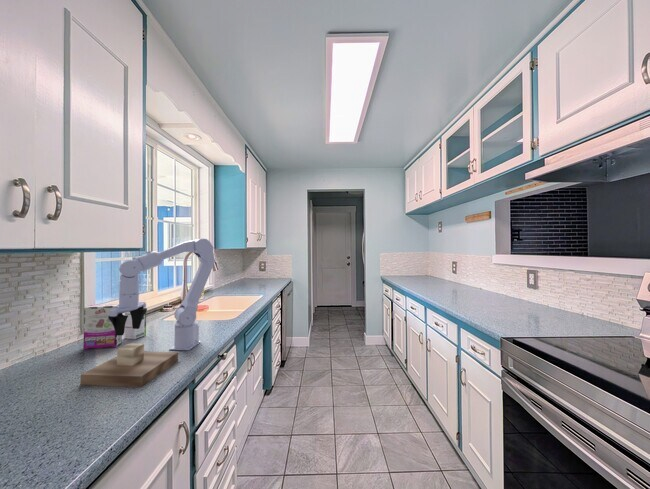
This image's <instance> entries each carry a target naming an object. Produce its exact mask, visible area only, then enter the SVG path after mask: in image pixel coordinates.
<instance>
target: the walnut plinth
mask: <svg viewBox="0 0 650 489" xmlns="http://www.w3.org/2000/svg"><path fill="white" fill-rule="evenodd" d="M178 361H179V352H178V351H177V352H176V351H151V350H150V351H148V350H147V351H145V350H144V359H143V360H141V361H140V362H138V363H136V364H134V365H133V366H126V365H117V356H115V357H113V358H111V359H109V360H107V361H106V362H103V363H100V364H99V365H97V366H95V367H93V368H91V369H89V370H87V371H85V372H83V373H81V374H80V386H102V387H106V386H107V387H129V388H130V387H132V388H133V387H134V388H141V387H143V386H145V385H146V384H148V383H149V382H150V381H152V380H153V379H155V378H156V377H157V376H159V375H160V374H161V373H163V372H164V371H166V370H167V369H168V368H170V367H171V366H172V365H174V364H175V363H177V362H178Z"/></svg>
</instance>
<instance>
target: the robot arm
mask: <svg viewBox="0 0 650 489" xmlns="http://www.w3.org/2000/svg"><path fill="white" fill-rule="evenodd" d="M183 253H193V254H194V255H195V256H196V257H197V258H198V261H199V262H200V264H199V267H198V268H197V270H196V273H195V274H194V275H195V276H194V277H193V279H192V282H191V285H190V286H189V289H188V291H187V293H186V295H185V298H184V299H183V300H182V301H181V303H180V305H179V306H178V307H177V309H175V311H174V318H175V320H176V321H175V323H174V345H173V346H171V347H170V348H168V350H169V351H190V350H191V349H193V348H194V347H196V346H197V345H199V344H200V343H201V342H202V341H201V340H199V339H200V338H199V334H200V333H199V332H200V329H199V328H200V327H199V325H198V323H197V322H196V319H197V311H198V304H199V301H200V298H201V296H202V294H203V291H204V288H205V286H206V284H207V281H208V280H209V278H210V275H211V273H212V270H213V267H214V265H215V262H216V260H215V254H214V246H213V244H212V243H211V241H210V240H209V239H207V238H195V239H193V240H188V241H187V240H186V241H183V242H181V243H178V244H177V245H174V246H171V247H169V248H167V249H165V250H162V251H156V250H153V251H152V250H148V251H146V253H144V254H142V255H140V256H137V257H136V256H133V257H131V259H132V260H130V259H129V260H125V261H123V262H122V263H121V264H120V267H119V269H118V270H119V273H120V276H119V287H118V288H119V289H118V291H119V292H118V294H119V295H118V296H119V298H118V304H119V306H117V308H115V309H113V310H110V315H109V316H108V319H109V320H110V321H111V322H112V324H113V326H114V329H115V332H116V335H121V336H122V337H123V336H124V330H125V323H126V320H127V318H128V315H125V313H126V312H129V311H130V314H131V317H132V327H133V329H139V328H140V325H141V321H142V319H143V316H144V314H145V313H146V314H147V311H148V307H147V303H146V301H139V300H140V299H139V298H140V280H139V274H140V272H146V271H148V270H151V269H153V268H156V267H158V266H160V265H162V263H163V261H164V260H166V259H169V258H171V257H175V256H177V255H180V254H183ZM144 307H146V308H144Z"/></svg>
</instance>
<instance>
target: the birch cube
mask: <svg viewBox="0 0 650 489" xmlns="http://www.w3.org/2000/svg"><path fill="white" fill-rule="evenodd" d="M144 351H145V344H144V343H127V344H125V345H123V346H120V347H119V348H117V349H116V357H117V365H126V366H133V365H134V364H136V363H138V362H140V361H141V360H143V359H144Z"/></svg>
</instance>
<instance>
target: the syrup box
mask: <svg viewBox="0 0 650 489" xmlns="http://www.w3.org/2000/svg"><path fill="white" fill-rule="evenodd" d="M144 308H147V306H146V307H144ZM124 315H128V318H127V320H126V323H125V330H124V335H123V336H124V339H128V340H136V339H139V338H141V337H144V336H147V312H146V313H145V314H144V316H143V319H142V321H141V325H140V328H139V329H133V327H132V317H131V314H130V311H129V312H126V313H124Z"/></svg>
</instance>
